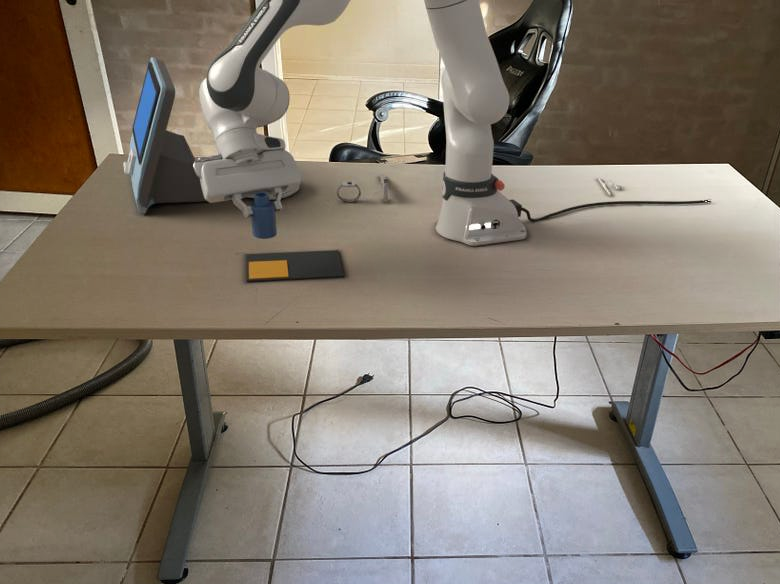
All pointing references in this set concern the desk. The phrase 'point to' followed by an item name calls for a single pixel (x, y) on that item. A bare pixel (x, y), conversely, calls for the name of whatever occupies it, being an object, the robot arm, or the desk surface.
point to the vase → (263, 217)
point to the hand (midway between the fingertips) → (264, 213)
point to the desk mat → (293, 266)
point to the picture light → (606, 187)
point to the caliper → (384, 187)
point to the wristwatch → (348, 184)
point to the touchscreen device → (159, 147)
